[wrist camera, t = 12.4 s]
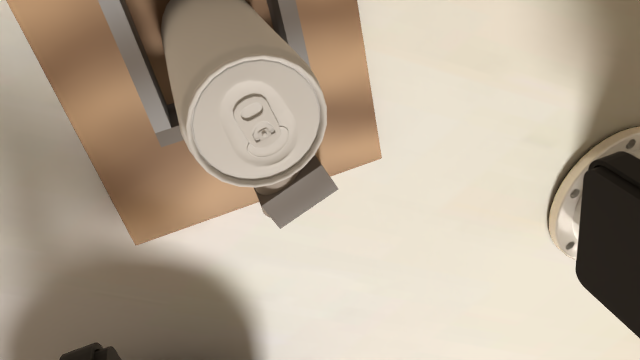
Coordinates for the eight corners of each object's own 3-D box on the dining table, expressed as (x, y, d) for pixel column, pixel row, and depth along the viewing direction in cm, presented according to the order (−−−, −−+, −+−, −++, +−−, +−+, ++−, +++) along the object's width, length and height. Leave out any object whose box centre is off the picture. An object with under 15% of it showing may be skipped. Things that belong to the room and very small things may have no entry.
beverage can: (190, 92, 28) (228, 215, 18) (138, 8, 25) (149, 99, 15) (271, 49, 28) (351, 147, 18) (227, -39, 25) (295, 20, 15)
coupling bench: (374, 150, 35) (403, 183, 31) (135, 234, 32) (137, 281, 29) (302, -286, 22) (337, -315, 19) (-92, -204, 20) (-140, -219, 16)
